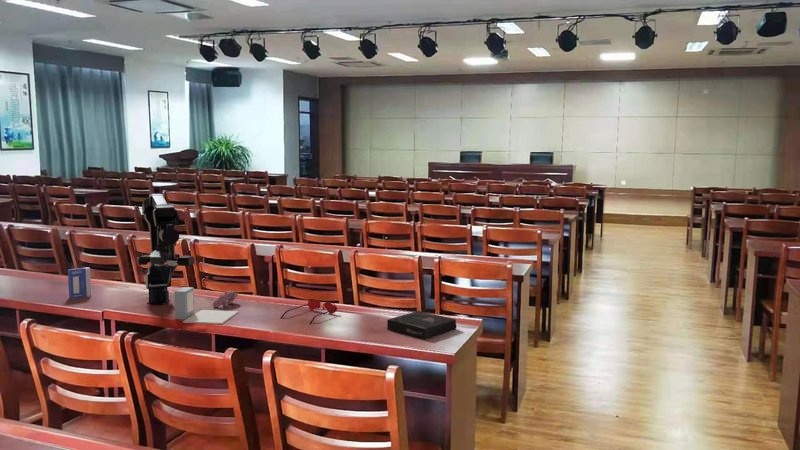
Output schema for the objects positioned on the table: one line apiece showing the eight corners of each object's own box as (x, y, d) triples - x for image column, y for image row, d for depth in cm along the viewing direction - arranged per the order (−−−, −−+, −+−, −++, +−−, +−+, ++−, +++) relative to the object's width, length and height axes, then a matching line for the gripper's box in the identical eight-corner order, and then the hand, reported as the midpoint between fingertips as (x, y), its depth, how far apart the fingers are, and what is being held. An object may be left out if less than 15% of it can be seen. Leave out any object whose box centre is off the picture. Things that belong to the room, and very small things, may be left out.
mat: (182, 322, 217) (182, 321, 217) (202, 311, 233) (201, 309, 233) (221, 324, 216) (221, 322, 216) (238, 312, 232) (238, 311, 232)
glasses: (338, 315, 231) (338, 302, 231) (309, 325, 217) (309, 311, 217) (309, 309, 239) (309, 297, 238) (279, 319, 225) (279, 305, 224)
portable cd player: (456, 330, 214) (456, 319, 213) (424, 341, 201) (424, 329, 201) (419, 321, 225) (419, 310, 224) (387, 331, 212) (387, 319, 212)
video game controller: (220, 312, 238) (227, 297, 236) (210, 306, 239) (217, 290, 237) (234, 306, 247) (241, 291, 245) (226, 300, 248) (232, 285, 246)
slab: (175, 318, 222) (174, 291, 221) (183, 313, 229) (183, 287, 228) (186, 319, 222) (185, 291, 220) (194, 314, 229) (194, 287, 227)
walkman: (71, 299, 249) (69, 269, 247) (69, 298, 251) (67, 268, 249) (92, 296, 254) (90, 267, 253) (89, 295, 256) (88, 266, 255)
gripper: (129, 243, 216) (130, 287, 218) (181, 244, 214) (182, 289, 216) (145, 239, 227) (146, 281, 229) (194, 240, 225) (195, 282, 227)
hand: (167, 283), depth 225 cm, fingers closed
